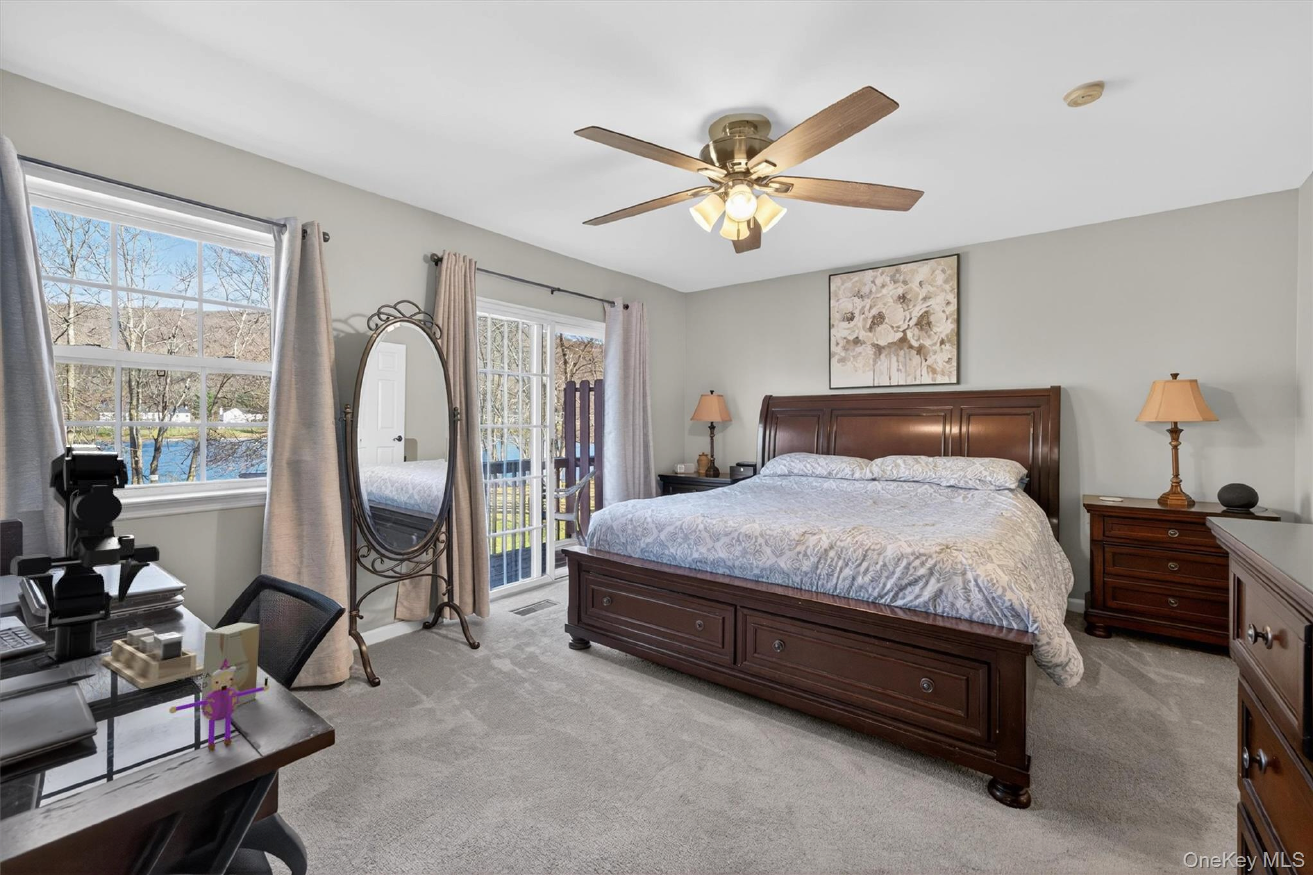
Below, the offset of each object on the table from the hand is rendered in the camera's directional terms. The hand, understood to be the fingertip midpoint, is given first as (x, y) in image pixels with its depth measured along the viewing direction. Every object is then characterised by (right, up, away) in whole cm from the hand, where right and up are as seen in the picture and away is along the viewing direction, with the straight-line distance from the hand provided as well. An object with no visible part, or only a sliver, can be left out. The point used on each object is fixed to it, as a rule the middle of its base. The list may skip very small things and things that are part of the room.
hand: (87, 606), depth 106 cm
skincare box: (+34, -13, -12) cm, 38 cm away
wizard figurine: (+42, -12, -25) cm, 51 cm away
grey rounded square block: (+15, -11, -1) cm, 19 cm away
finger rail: (+9, -12, +3) cm, 16 cm away
